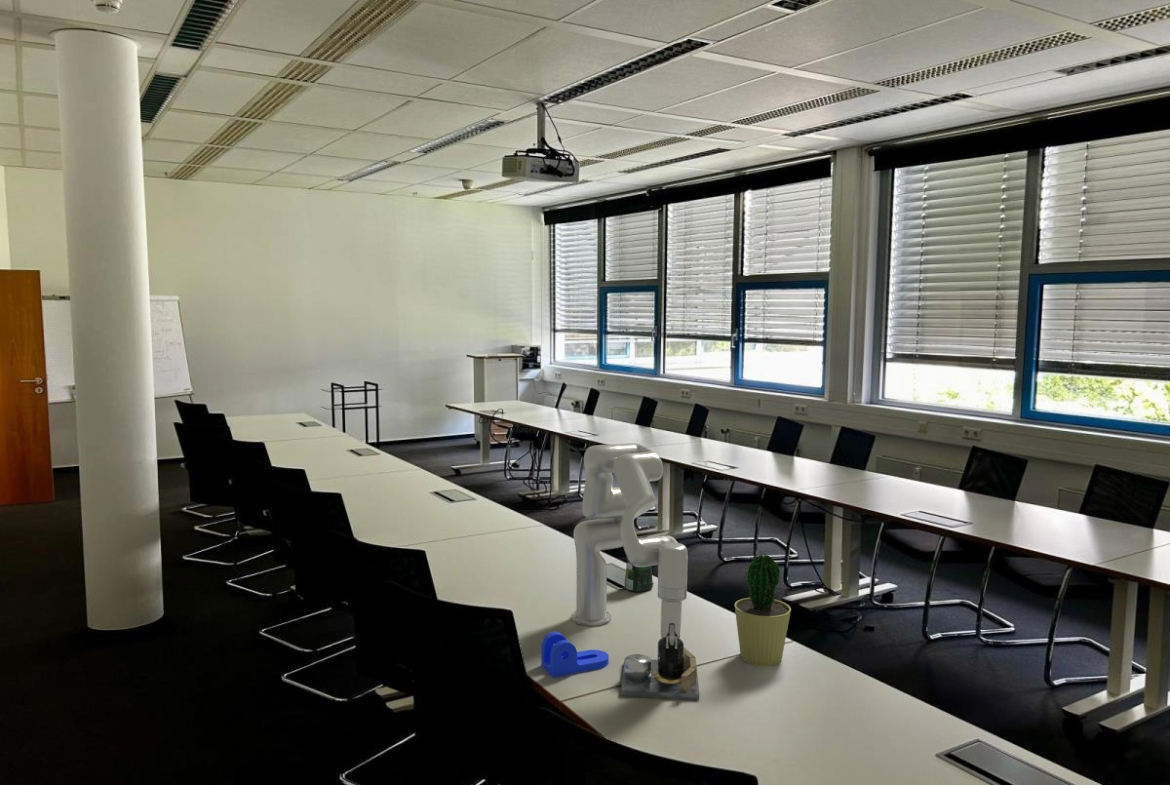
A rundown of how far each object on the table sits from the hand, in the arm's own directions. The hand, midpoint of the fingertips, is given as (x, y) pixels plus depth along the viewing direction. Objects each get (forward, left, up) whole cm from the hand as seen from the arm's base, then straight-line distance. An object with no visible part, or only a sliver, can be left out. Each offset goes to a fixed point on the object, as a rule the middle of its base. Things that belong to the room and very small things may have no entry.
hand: (671, 655), depth 211 cm
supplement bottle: (0, 0, -6) cm, 6 cm away
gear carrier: (0, -3, -7) cm, 8 cm away
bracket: (-7, -25, -7) cm, 27 cm away
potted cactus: (-18, +26, -7) cm, 32 cm away
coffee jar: (-73, -10, -7) cm, 74 cm away
